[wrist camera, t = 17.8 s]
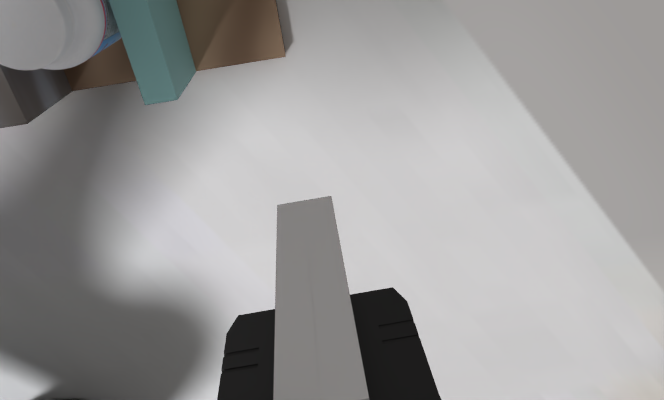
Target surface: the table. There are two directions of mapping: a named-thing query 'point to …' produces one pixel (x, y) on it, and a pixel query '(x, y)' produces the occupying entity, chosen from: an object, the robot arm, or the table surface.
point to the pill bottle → (54, 32)
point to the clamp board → (114, 65)
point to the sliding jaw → (155, 47)
